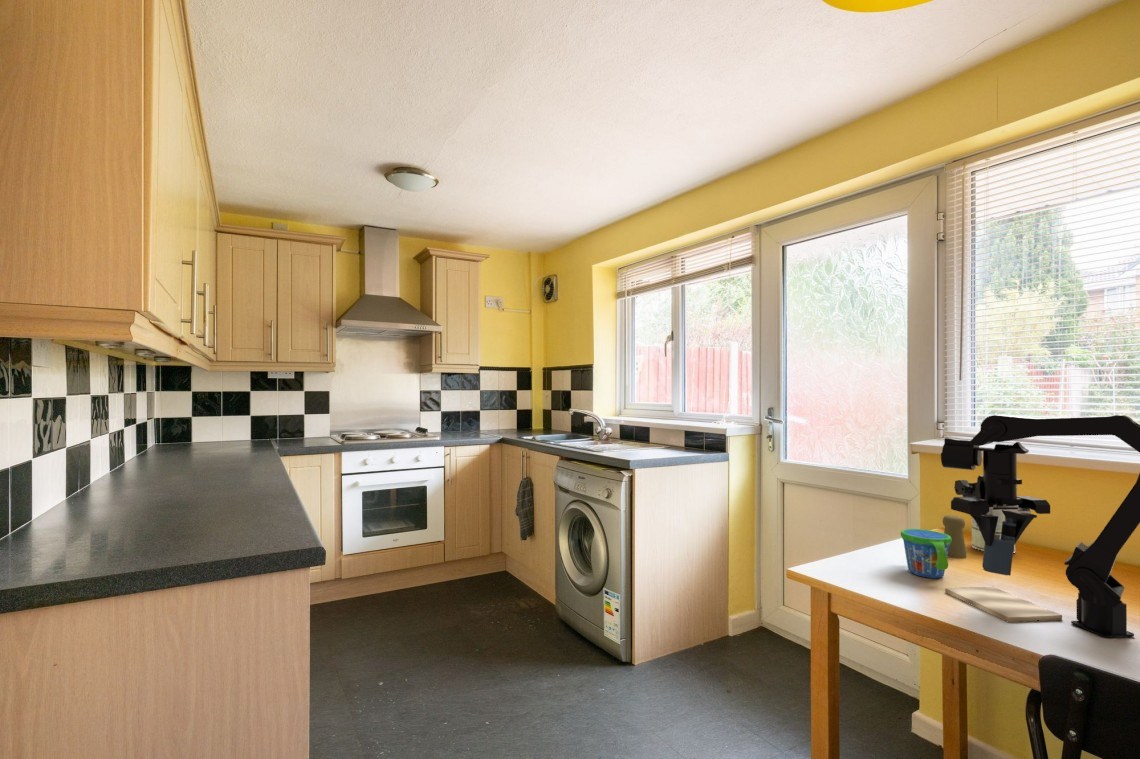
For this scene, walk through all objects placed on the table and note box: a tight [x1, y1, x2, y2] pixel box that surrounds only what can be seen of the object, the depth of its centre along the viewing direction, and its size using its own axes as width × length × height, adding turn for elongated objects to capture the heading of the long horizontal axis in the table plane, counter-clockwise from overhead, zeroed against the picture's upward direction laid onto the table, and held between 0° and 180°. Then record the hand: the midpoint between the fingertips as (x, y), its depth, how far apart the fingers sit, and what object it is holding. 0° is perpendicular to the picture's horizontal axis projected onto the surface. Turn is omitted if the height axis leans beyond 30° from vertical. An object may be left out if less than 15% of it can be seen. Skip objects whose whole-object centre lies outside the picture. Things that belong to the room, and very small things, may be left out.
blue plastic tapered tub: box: [900, 528, 952, 579], centre depth 138 cm, size 16×10×10 cm
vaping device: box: [982, 518, 1016, 576], centre depth 118 cm, size 3×5×12 cm, turn 76°
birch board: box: [944, 586, 1063, 623], centre depth 118 cm, size 16×12×1 cm
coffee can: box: [971, 499, 1016, 554], centre depth 160 cm, size 10×10×14 cm
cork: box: [942, 514, 968, 559], centre depth 154 cm, size 6×6×11 cm
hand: (1000, 545), depth 118 cm, fingers closed on vaping device, 5 cm apart
